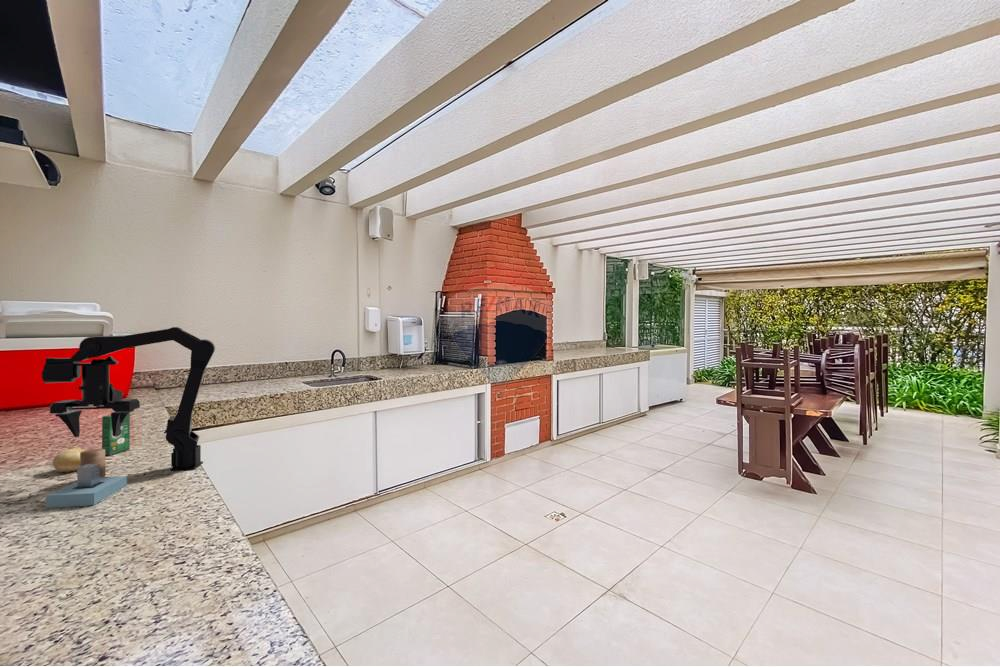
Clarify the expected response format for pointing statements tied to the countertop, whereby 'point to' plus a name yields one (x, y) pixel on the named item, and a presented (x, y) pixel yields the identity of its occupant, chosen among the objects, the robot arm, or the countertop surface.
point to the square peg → (88, 476)
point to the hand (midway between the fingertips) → (96, 436)
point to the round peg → (94, 459)
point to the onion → (67, 460)
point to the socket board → (85, 493)
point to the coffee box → (115, 442)
